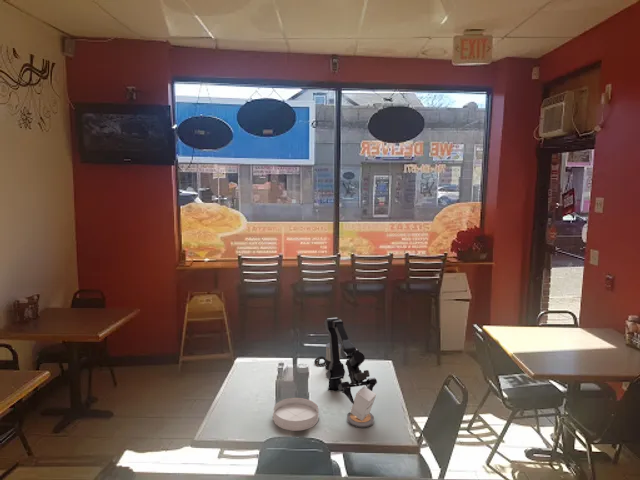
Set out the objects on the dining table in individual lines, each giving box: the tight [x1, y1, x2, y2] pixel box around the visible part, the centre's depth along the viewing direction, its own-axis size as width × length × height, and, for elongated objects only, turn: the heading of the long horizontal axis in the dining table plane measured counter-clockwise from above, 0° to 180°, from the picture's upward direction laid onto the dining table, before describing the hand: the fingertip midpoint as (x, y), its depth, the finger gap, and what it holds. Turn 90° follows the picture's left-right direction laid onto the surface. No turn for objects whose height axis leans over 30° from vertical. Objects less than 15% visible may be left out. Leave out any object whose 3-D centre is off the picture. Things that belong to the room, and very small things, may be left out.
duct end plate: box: [346, 411, 375, 429], centre depth 223 cm, size 13×13×2 cm
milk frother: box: [314, 342, 342, 371], centre depth 281 cm, size 14×16×15 cm
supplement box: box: [349, 385, 377, 421], centre depth 220 cm, size 7×7×13 cm
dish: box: [272, 397, 320, 432], centre depth 223 cm, size 22×22×5 cm
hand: (362, 402), depth 220 cm, fingers closed on supplement box, 9 cm apart
